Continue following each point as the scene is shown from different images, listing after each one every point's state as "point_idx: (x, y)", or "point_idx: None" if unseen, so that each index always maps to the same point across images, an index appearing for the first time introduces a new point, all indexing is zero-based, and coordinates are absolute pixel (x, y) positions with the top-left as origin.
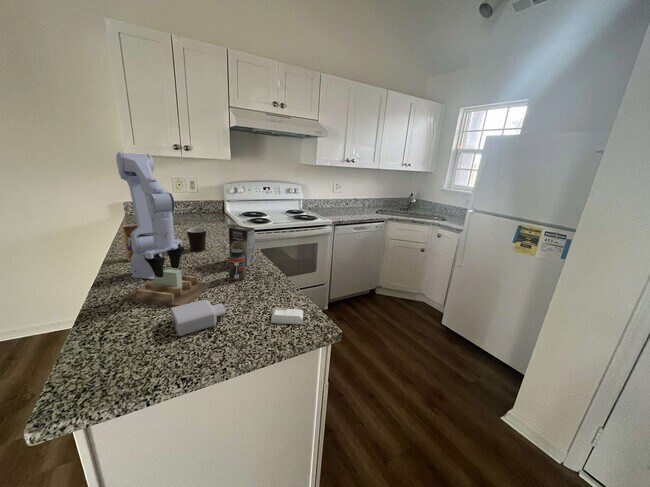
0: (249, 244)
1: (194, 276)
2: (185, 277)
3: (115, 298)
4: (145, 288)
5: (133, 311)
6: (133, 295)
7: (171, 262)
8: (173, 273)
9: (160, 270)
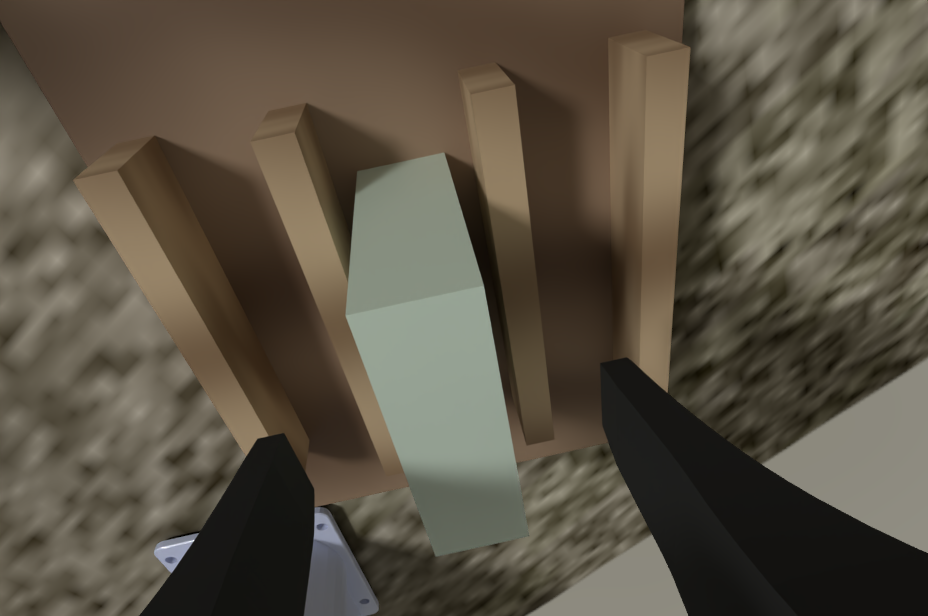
0: None
1: (105, 229)
2: (202, 309)
3: None
4: None
5: (782, 237)
6: None
7: (302, 565)
8: (490, 322)
9: (709, 431)
